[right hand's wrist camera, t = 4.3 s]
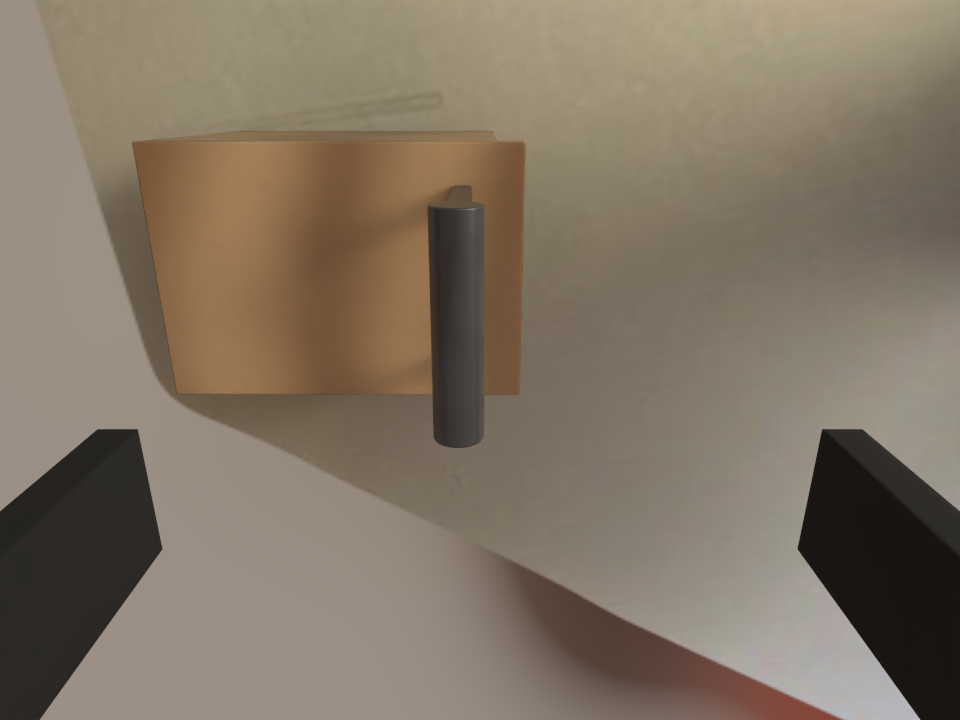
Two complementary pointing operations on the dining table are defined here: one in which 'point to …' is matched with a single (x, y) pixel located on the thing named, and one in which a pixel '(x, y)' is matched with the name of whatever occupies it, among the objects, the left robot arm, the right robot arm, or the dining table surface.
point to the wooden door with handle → (341, 268)
